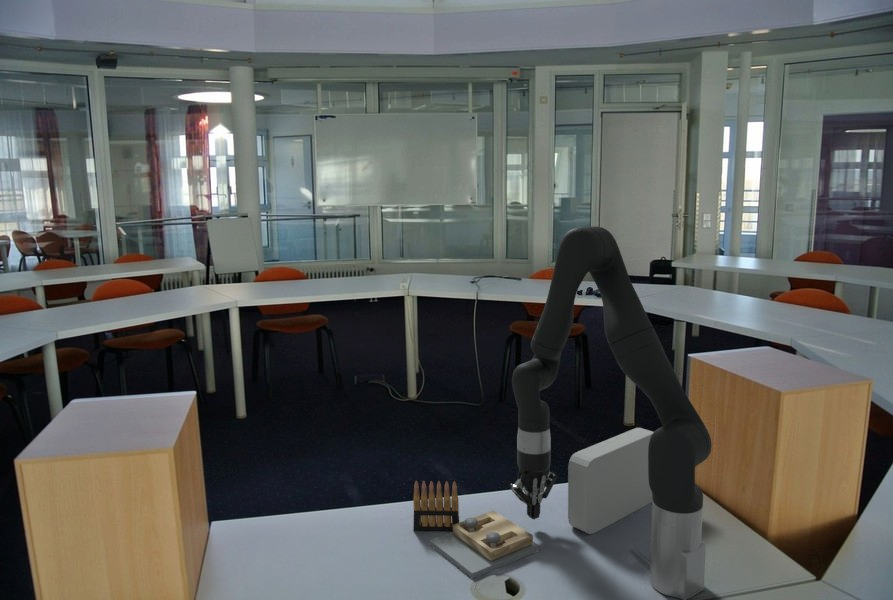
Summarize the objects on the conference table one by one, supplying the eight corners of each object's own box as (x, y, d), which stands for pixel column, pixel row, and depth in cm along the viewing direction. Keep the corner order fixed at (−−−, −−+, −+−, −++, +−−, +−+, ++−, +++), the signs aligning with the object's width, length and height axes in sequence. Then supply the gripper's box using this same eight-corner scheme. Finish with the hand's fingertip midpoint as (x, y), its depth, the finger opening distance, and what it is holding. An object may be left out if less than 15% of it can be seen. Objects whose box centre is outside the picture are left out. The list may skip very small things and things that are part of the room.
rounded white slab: (633, 488, 173) (634, 422, 170) (659, 498, 167) (661, 430, 164) (559, 525, 155) (560, 452, 152) (585, 538, 149) (586, 462, 146)
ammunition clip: (413, 531, 154) (411, 482, 152) (414, 527, 156) (412, 479, 154) (459, 531, 153) (458, 482, 151) (459, 527, 155) (458, 479, 153)
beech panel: (532, 543, 144) (532, 535, 144) (490, 560, 138) (490, 552, 138) (493, 518, 156) (493, 510, 156) (452, 533, 150) (452, 525, 149)
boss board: (539, 550, 144) (539, 530, 144) (472, 578, 134) (472, 556, 134) (494, 521, 157) (493, 502, 157) (430, 545, 148) (429, 525, 147)
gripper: (522, 458, 144) (522, 532, 147) (566, 444, 151) (566, 515, 154) (500, 447, 150) (501, 519, 153) (544, 434, 157) (544, 503, 160)
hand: (533, 517), depth 154 cm, fingers closed
